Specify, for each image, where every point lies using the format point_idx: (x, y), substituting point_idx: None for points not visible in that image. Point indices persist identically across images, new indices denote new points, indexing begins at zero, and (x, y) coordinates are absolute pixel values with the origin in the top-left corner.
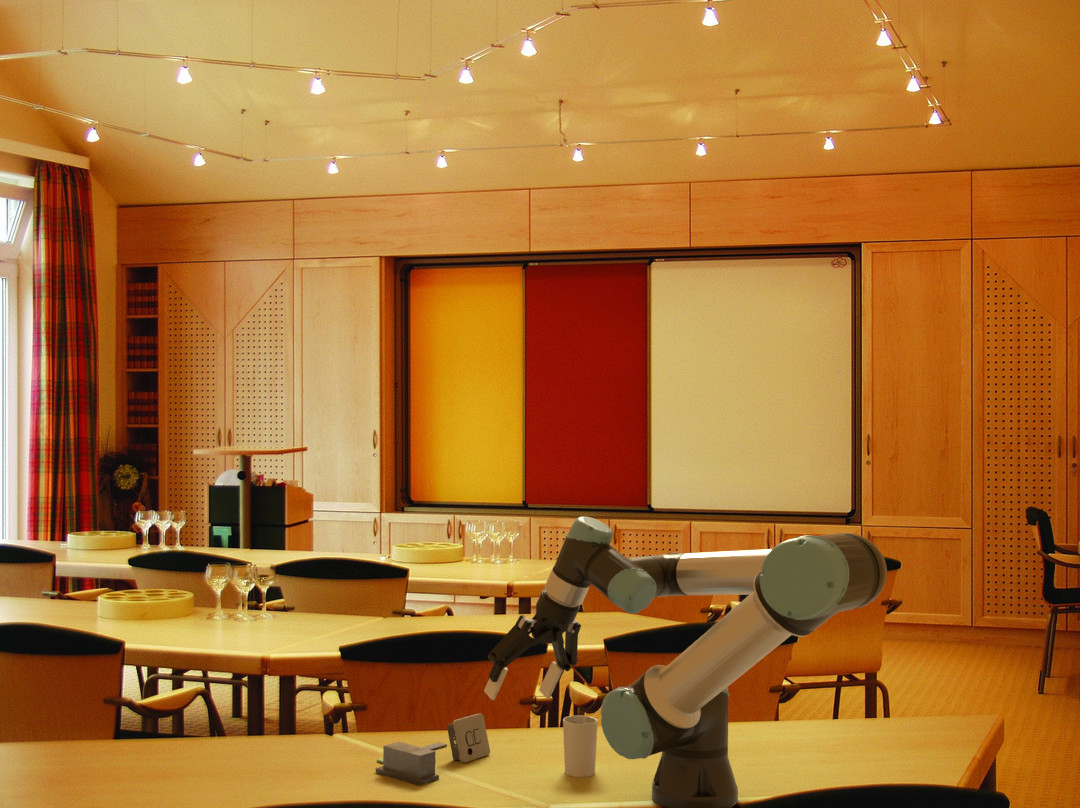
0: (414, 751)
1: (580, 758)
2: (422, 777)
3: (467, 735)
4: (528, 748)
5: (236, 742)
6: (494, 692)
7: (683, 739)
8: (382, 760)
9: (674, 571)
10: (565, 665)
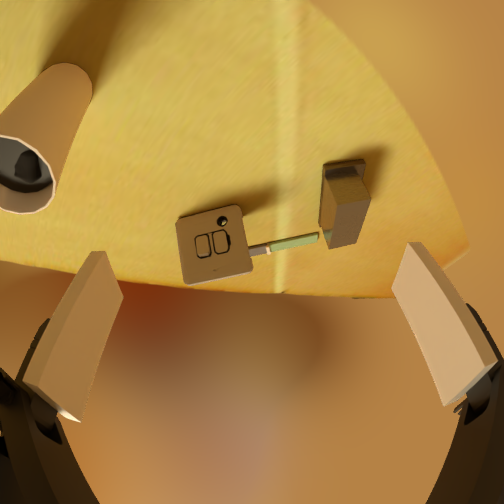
0: (356, 215)
1: (55, 82)
2: (351, 172)
3: (226, 246)
4: (106, 225)
5: (344, 289)
6: (436, 264)
7: None
8: (315, 238)
9: None
10: (11, 403)
